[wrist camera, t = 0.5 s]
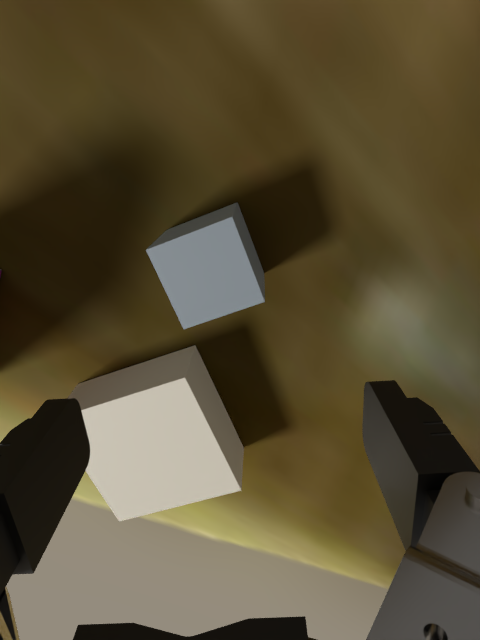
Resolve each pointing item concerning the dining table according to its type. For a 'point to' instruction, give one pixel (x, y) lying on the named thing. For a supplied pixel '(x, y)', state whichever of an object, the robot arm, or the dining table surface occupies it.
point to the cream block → (159, 435)
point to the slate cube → (209, 266)
